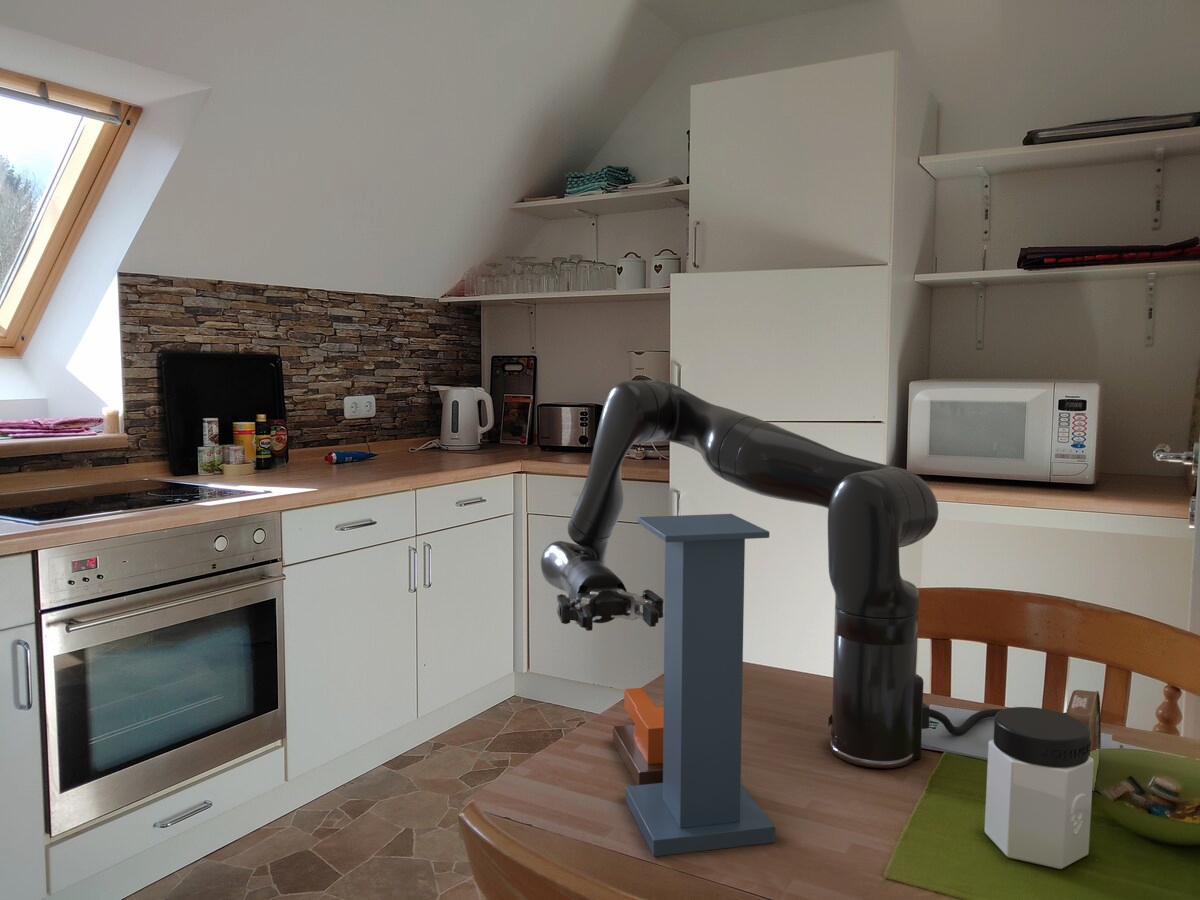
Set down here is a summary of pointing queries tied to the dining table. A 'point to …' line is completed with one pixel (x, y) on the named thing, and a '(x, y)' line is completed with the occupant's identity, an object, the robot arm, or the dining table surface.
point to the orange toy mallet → (646, 724)
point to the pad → (635, 757)
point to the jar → (1039, 786)
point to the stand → (701, 692)
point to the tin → (1087, 713)
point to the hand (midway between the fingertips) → (622, 621)
